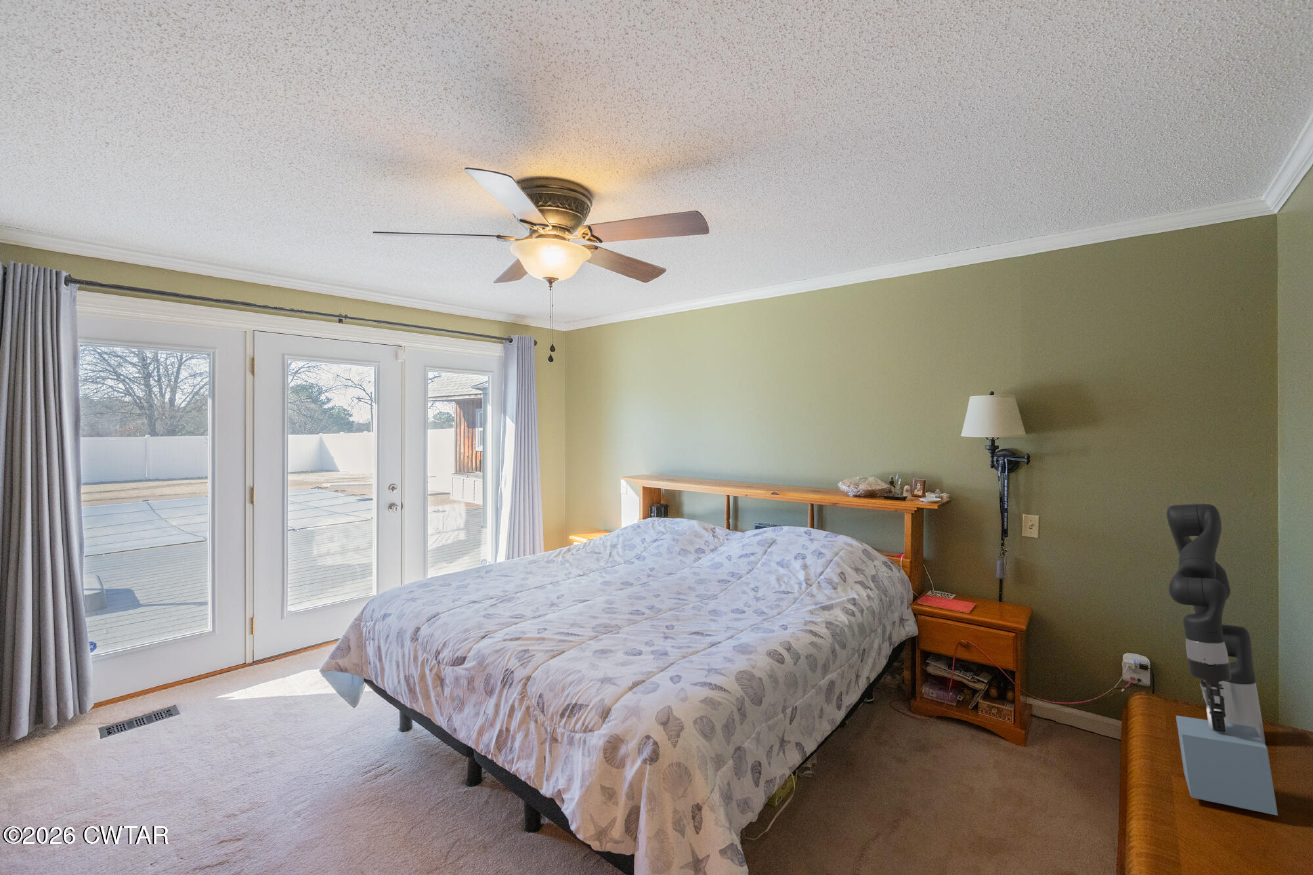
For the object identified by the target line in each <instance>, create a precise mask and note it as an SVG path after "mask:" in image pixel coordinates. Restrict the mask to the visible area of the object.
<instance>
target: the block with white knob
mask: <svg viewBox="0 0 1313 875" xmlns="http://www.w3.org/2000/svg"><path fill="white" fill-rule="evenodd" d="M1205 708H1206V710H1205V711H1206V716H1207V719H1203V718H1202V719H1201V718H1195V717H1190V716H1182V715H1175V719H1176V727H1177V733H1178V739H1179V748H1180V755H1181V761H1182V768H1183V773H1184V777H1185V781H1186V785H1187V788H1188V791H1189V795H1190V798H1193V799H1198V800H1203V801H1206V802H1212V803H1217V804H1222V805H1226V806H1231V807H1236V808H1239V809H1246V810H1250V811H1255V812H1260V813H1264V814H1270V815H1274V816H1278V815H1279V814H1278V808H1277V801H1276V796H1275V789H1274V783H1273V777H1272V771H1271V764H1270V757H1269V751H1268V747H1267V745H1266V743H1264V742H1263V740H1262V739H1261V737H1260V735H1259V734H1258V732H1257V730H1256V729H1255V727H1251V726H1244V725H1237V724H1230V723H1226V719H1225V717H1224V723H1225V729H1226V732H1217V731H1214V730H1213V726H1212V719H1211V715H1210V713H1209V712H1210V709H1209V708H1207V707H1205ZM1214 711H1220V710H1219V709H1214Z"/></svg>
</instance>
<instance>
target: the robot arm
mask: <svg viewBox="0 0 1313 875" xmlns="http://www.w3.org/2000/svg"><path fill="white" fill-rule="evenodd" d="M1166 519H1167V523H1168V526H1169V528H1170V529H1169V530H1170V531H1171V534H1172V539H1174V543H1175V546H1176V548H1177V551H1178V554H1179V556H1178V557H1179V558H1178V569H1177V571H1176V572H1175V573H1174V575H1173V576H1172V578H1171V580H1170V582H1169V585H1168V592H1169V593H1168V594H1169V596H1170V597H1171V599H1172V600H1174V602H1176V603H1178V605H1179V604H1180V605H1184V606H1193V610H1194V613H1190V614H1186V615H1185V616H1184V617H1183V618H1182V619H1183V620H1182V621H1183V628H1184V633H1185V634H1184V635H1185V649H1186V650H1185V651H1186V658H1187V665H1188V670H1189V671H1188V672H1189V674H1190V675H1191V676H1192V677H1194V678H1197V679H1200V681H1199V686H1200V689H1201V691H1202V692H1201V693H1202V697H1203V700H1204V702H1205V704H1206V706H1205V708H1209V709H1210V712H1209V713H1210V715H1211V719H1212V726H1213V730H1214V731H1217V732H1226V729H1225V723H1224V717H1225V719H1226V723H1230V724H1237V725H1244V726H1251V727H1255V729H1256V730H1257V732H1258V734H1259V735H1260V737H1261V739H1262V740H1263V742H1264V744H1266V739H1265V738H1266V737H1265V733H1264V726H1263V725H1264V724H1263V718H1262V713H1261V707H1260V700H1259V693H1258V688H1257V682H1256V674H1255V669H1254V663H1253V652H1252V650H1253V649H1252V640H1251V636H1250V633H1249V631H1248V630H1247V628H1246V627H1244V626H1238V625H1233V624H1231V625H1230V624H1223V612H1224V608H1225V606H1226V601H1227V600H1228V599H1229V597H1230V595H1231V586H1230V583H1229V582H1230V581H1229V578H1228V574H1227V572H1226V570H1225V569H1224V567H1222V565H1221V564H1219V563H1218V562H1217V561H1216V554H1217V549H1218V547H1219V543H1220V539H1221V538H1220V537H1221V533H1222V520H1221V516H1220V512H1219V509H1218V508H1217V507H1216V506H1215V505H1213V504H1209V503H1191V504H1174V505H1170V506H1168V508H1167V510H1166ZM1191 537H1196V538H1194V539H1193V540H1192V538H1191ZM1229 657H1230V658H1231V657H1232V658H1236V660H1235V661H1233V662H1230V660H1229ZM1214 709H1219V710H1220V711H1214Z"/></svg>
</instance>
